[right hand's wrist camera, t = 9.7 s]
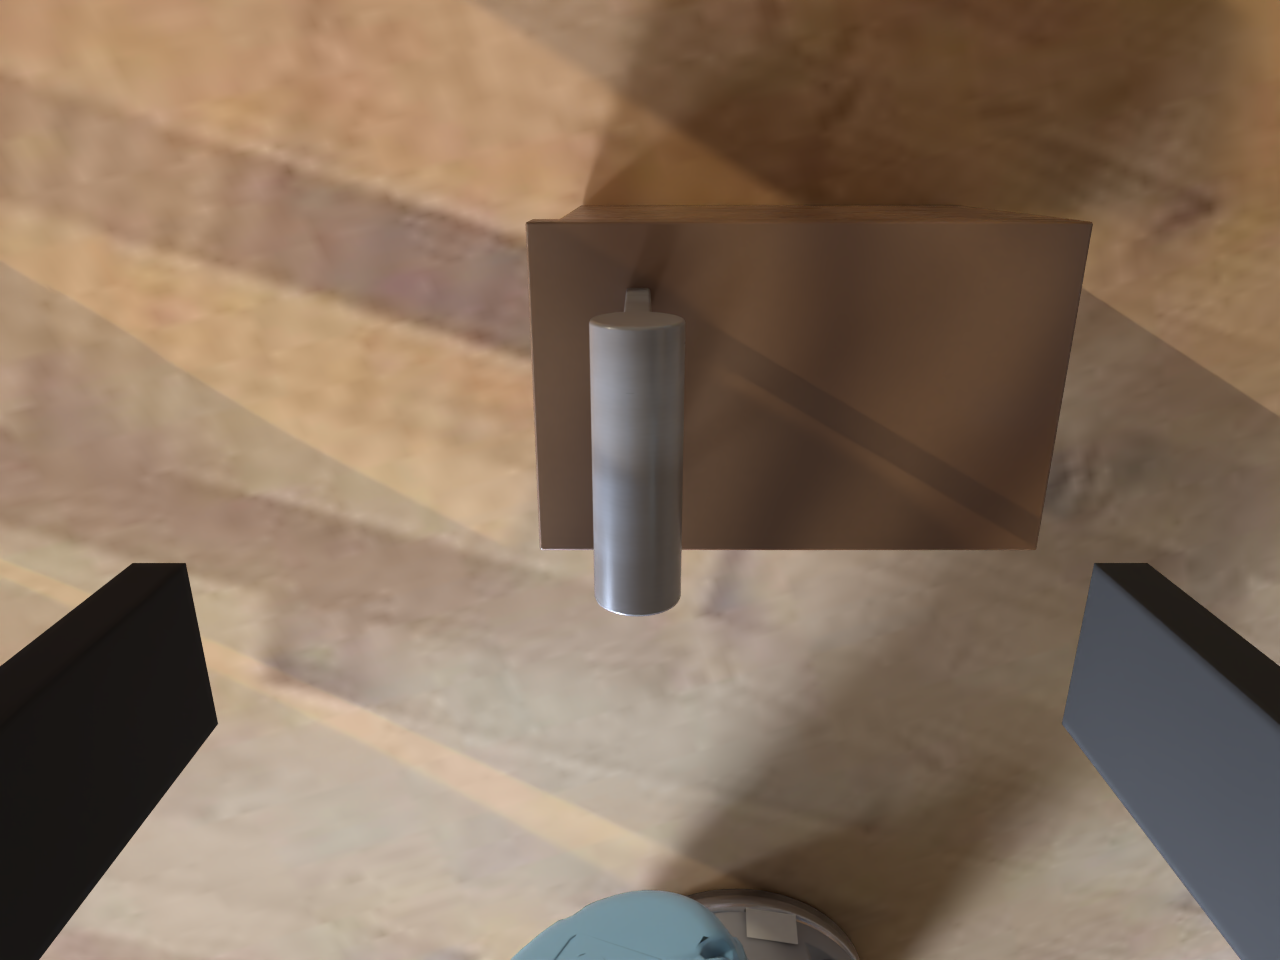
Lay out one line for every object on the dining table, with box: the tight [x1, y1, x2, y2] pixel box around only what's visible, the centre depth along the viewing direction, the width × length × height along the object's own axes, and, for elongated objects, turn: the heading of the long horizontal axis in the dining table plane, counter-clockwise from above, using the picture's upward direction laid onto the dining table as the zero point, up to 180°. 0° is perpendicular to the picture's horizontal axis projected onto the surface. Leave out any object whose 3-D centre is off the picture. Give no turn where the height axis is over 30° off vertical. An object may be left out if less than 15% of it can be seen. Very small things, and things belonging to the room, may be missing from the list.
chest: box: [561, 206, 1064, 219], centre depth 32 cm, size 15×10×10 cm
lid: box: [526, 219, 1093, 616], centre depth 23 cm, size 16×10×9 cm, turn 90°
